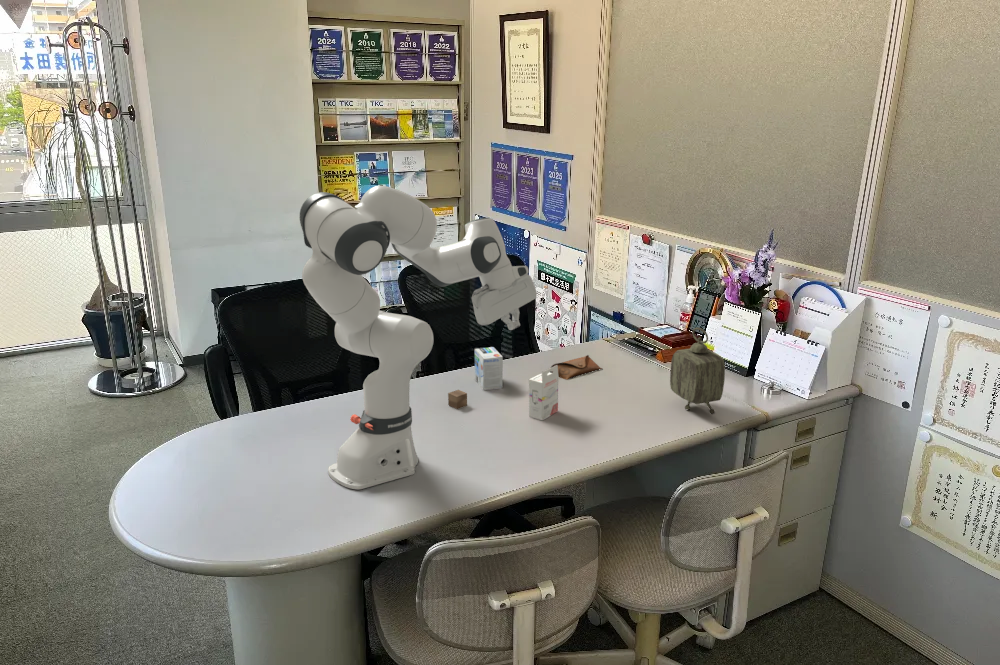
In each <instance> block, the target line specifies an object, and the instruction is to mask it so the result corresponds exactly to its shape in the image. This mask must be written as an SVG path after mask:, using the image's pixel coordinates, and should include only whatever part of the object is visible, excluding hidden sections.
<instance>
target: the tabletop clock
mask: <svg viewBox="0 0 1000 665" xmlns="http://www.w3.org/2000/svg"><path fill="white" fill-rule="evenodd" d="M697 330H698V331H701V332H702V333H703V334H704V335H705V338H706V340H702V339H703V338H702V337H700V336H699V337H697V336H696V335H695V331H697ZM692 337H693V339H694V340H695V341H696V342H695V343H693V344H692V345H691V346H690V348H684V349H678V350H676V351H675V352H674V353H673V355H672V358H671V363H670V377H669V378H670V379H669V386H670V389H671V392H673V393H674V394H676V395H677V396H679V397H680V398H682V399H683V400H686V401H687V404H686V405H685V406H684V409H685V410H686V409H690V410H691V408H692V407H691V406H690V405H691V403H693V404H694V405H700V404H705V405H706V406H707V408H708V409H709V411H708V412H709V414H710V413H711V414H710V415H715V412H716V410H715V408H712V407H711V405H710V403H711V402H716V401H717V402H718V401H720V400H721V399H722V396H723V393H724V386H725V378H726V377H725V376H726V375H725V374H726V363H725V360H724V359H723V357H722V356H721V355H719V354H718V353H716V352H715V351H713V350H711V349H709V348H708V346H707V345H706V343H708V341H709V336H708V333H707V331H706V330H705V329H703V328H701V327H695V328H693V330H692Z"/></svg>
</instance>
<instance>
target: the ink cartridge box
mask: <svg viewBox="0 0 1000 665" xmlns="http://www.w3.org/2000/svg"><path fill="white" fill-rule="evenodd" d="M550 371H553V373H550ZM559 378H560V377H559V375H558V365H556V366H554V367H551V366H550V368H548V369H546V370H544V371H542V372H541V373H539V374H537V375H535V376H533V377H531V378H529V379H528V416H529V418H532V419H536V420H539V421H544V420H545V419H547V418H549V417H551V416H553V415H554V414H555V413H557V412H559Z"/></svg>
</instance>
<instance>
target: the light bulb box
mask: <svg viewBox="0 0 1000 665" xmlns="http://www.w3.org/2000/svg"><path fill="white" fill-rule="evenodd" d="M503 358H504V357H503V355H502V354H501V353H500V352H499V351H498V350H497V349H496V348H495V347H494V346H490V347H483V348H482V347H481V348H474V380H475V382H476V383H477V384H478V386H479V387H480V388H481V389H482V391H489V390H497V389H498V390H499V389H503V371H504V370H503V364H504V363H503V360H504V359H503Z"/></svg>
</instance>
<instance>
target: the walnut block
mask: <svg viewBox="0 0 1000 665" xmlns="http://www.w3.org/2000/svg"><path fill="white" fill-rule="evenodd" d="M447 398H448V399H447V401H448V404H447V406H448V405H449V407H451V408H454V409H455V410H459V409H462V408H464V407H467V406H468V393H467V392H466V391H463V390H460V389H457V390H456V389H455V390H453V391H450V392H448V393H447Z"/></svg>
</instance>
